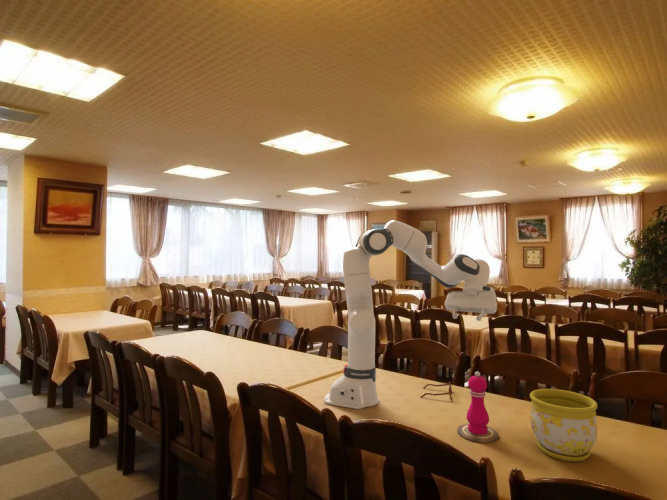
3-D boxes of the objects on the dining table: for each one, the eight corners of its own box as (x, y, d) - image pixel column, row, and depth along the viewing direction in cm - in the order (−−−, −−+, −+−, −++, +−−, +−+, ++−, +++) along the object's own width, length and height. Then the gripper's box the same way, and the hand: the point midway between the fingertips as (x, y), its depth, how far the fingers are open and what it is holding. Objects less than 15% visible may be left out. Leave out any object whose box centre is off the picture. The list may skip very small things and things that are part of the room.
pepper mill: (491, 436, 131) (491, 375, 131) (468, 435, 132) (468, 374, 133) (486, 427, 138) (486, 369, 139) (465, 425, 139) (464, 368, 140)
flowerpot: (518, 439, 131) (518, 389, 131) (570, 437, 133) (570, 387, 133) (553, 468, 113) (553, 409, 114) (613, 465, 115) (612, 407, 115)
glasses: (451, 402, 167) (451, 390, 167) (419, 398, 170) (419, 386, 171) (452, 391, 179) (452, 380, 179) (422, 389, 183) (422, 378, 183)
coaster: (458, 440, 130) (458, 437, 130) (456, 424, 143) (456, 421, 143) (501, 444, 127) (501, 441, 127) (494, 427, 140) (494, 425, 140)
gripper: (447, 286, 171) (438, 311, 163) (497, 288, 159) (491, 315, 151) (451, 295, 175) (442, 321, 167) (500, 298, 163) (494, 326, 155)
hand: (466, 318), depth 159 cm, fingers open, 8 cm apart
